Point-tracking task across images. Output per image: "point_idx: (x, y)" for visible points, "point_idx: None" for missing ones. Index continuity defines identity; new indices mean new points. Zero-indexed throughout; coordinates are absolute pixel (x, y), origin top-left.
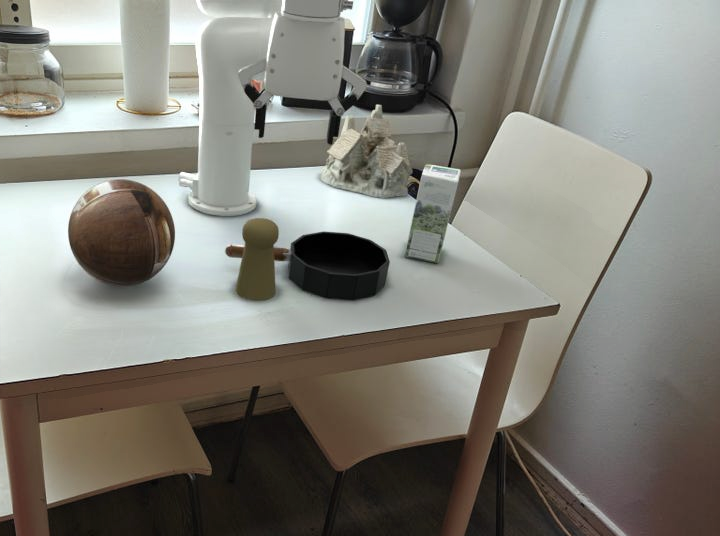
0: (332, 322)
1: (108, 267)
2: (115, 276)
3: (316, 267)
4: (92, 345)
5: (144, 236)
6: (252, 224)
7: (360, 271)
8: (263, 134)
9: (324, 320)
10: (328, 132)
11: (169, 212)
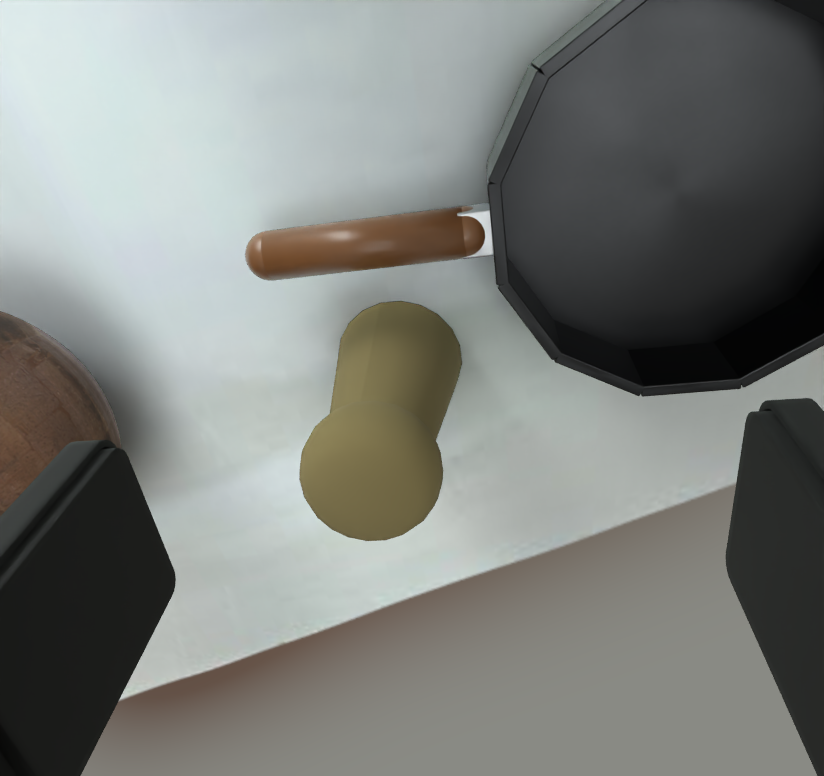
0: (630, 470)
1: None
2: None
3: (597, 168)
4: None
5: None
6: (335, 520)
7: (780, 152)
8: (165, 601)
9: (608, 465)
10: (764, 597)
11: (14, 499)
